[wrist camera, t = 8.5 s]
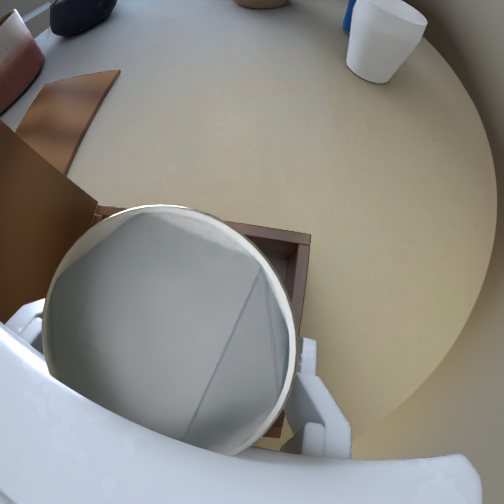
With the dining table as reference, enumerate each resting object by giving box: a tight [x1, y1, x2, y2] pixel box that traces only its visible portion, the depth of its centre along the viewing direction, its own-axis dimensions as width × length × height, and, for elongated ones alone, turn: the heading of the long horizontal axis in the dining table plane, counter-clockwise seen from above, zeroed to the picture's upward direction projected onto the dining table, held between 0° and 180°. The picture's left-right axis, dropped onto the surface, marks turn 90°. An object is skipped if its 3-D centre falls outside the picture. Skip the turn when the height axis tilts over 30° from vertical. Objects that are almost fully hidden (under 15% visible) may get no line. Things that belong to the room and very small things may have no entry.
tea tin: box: [42, 205, 299, 457], centre depth 10 cm, size 6×6×11 cm
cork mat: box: [15, 69, 120, 176], centre depth 27 cm, size 22×16×1 cm
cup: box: [346, 0, 427, 83], centre depth 24 cm, size 9×9×12 cm
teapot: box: [50, 0, 117, 36], centre depth 29 cm, size 25×16×12 cm, turn 65°
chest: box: [90, 205, 311, 438], centre depth 19 cm, size 16×14×6 cm
